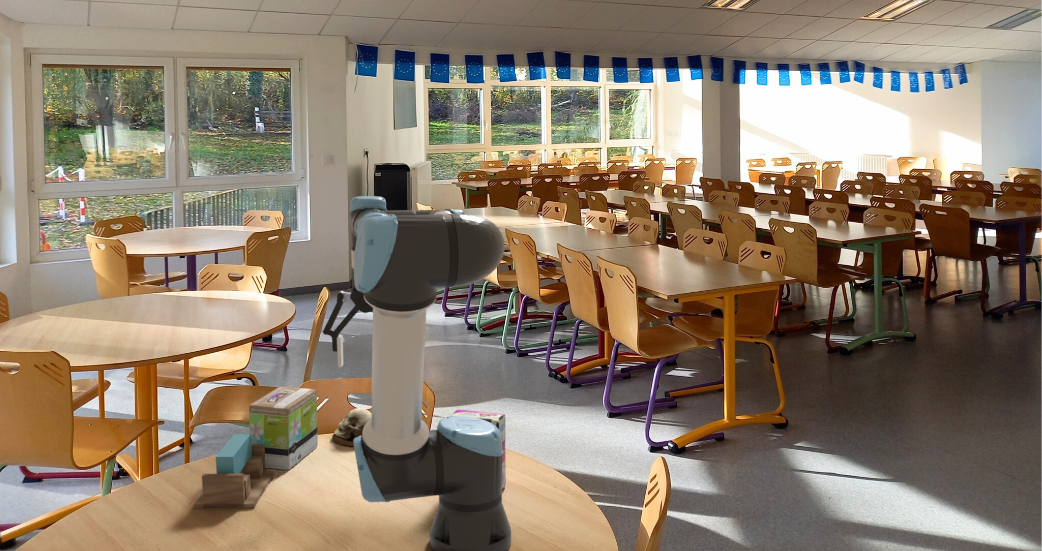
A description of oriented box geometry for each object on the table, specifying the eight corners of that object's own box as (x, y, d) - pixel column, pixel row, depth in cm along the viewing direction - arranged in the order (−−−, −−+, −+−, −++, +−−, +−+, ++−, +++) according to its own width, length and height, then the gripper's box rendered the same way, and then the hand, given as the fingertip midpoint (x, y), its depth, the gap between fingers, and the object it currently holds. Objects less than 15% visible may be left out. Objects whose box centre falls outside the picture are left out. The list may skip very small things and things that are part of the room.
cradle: (254, 508, 173) (252, 475, 171) (193, 508, 172) (191, 475, 171) (275, 473, 189) (273, 443, 188) (220, 474, 189) (218, 444, 188)
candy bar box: (506, 486, 184) (506, 413, 181) (498, 495, 179) (499, 421, 176) (457, 479, 187) (457, 407, 184) (449, 488, 182) (448, 415, 180)
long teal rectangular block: (234, 480, 174) (233, 456, 173) (217, 480, 174) (215, 456, 173) (252, 455, 187) (250, 433, 186) (235, 455, 187) (234, 433, 186)
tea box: (290, 471, 191) (288, 408, 188) (249, 467, 193) (246, 404, 190) (319, 446, 206) (317, 387, 203) (280, 443, 208) (278, 384, 205)
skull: (321, 441, 206) (332, 402, 211) (337, 457, 214) (348, 419, 220) (366, 445, 203) (377, 405, 208) (381, 461, 211) (391, 422, 217)
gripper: (429, 266, 186) (431, 360, 190) (314, 266, 185) (317, 361, 189) (427, 272, 179) (428, 370, 183) (306, 272, 178) (310, 370, 182)
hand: (372, 365), depth 186 cm, fingers open, 13 cm apart
